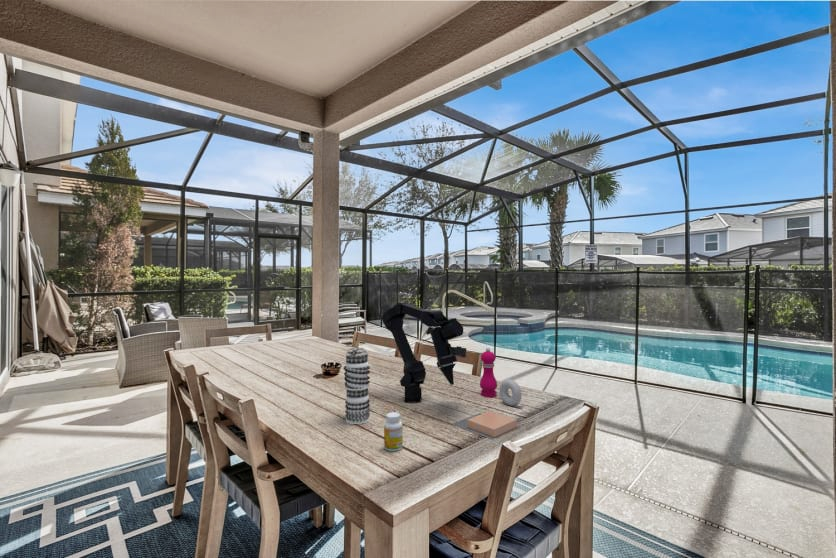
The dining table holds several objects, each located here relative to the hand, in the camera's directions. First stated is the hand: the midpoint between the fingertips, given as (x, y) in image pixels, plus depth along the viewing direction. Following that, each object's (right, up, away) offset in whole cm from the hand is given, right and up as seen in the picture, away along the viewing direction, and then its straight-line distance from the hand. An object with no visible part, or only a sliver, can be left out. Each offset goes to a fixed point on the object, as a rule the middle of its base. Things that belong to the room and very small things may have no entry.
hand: (452, 384), depth 139 cm
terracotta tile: (+8, -9, -10) cm, 16 cm away
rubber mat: (+10, -10, -12) cm, 19 cm away
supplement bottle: (-20, -11, -27) cm, 35 cm away
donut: (+23, -10, +8) cm, 27 cm away
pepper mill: (+17, -10, +21) cm, 29 cm away
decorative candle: (-34, -11, -5) cm, 36 cm away
